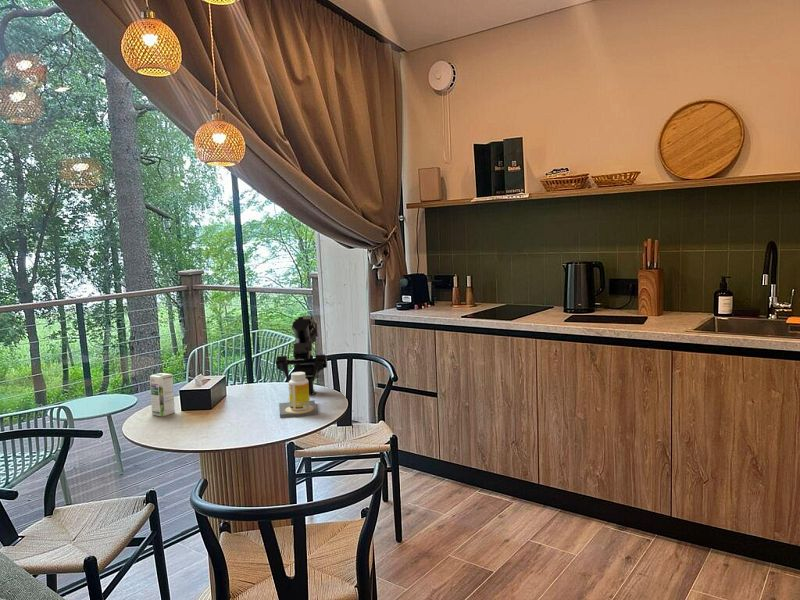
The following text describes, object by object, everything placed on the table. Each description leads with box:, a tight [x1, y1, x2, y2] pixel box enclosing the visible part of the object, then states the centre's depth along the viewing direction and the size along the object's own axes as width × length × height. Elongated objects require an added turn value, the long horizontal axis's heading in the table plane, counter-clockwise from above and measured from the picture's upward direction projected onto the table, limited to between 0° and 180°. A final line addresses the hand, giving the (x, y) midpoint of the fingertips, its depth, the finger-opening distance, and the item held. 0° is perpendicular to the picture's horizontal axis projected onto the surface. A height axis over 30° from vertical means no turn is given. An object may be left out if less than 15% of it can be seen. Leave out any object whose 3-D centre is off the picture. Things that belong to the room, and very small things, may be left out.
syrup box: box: [149, 372, 176, 417], centre depth 210 cm, size 6×6×14 cm
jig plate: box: [278, 400, 318, 418], centre depth 210 cm, size 16×13×2 cm
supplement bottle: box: [288, 372, 310, 411], centre depth 207 cm, size 7×7×13 cm
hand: (300, 381), depth 214 cm, fingers open, 9 cm apart
